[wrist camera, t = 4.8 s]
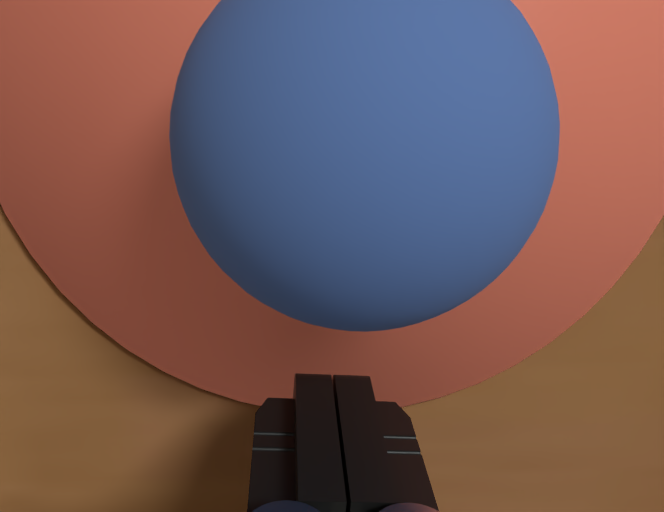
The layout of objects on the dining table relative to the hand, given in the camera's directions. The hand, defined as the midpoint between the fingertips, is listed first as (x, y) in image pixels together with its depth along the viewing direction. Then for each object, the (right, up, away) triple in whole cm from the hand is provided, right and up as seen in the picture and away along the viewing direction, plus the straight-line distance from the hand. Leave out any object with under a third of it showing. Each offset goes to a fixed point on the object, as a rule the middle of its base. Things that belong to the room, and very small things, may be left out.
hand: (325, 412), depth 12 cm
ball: (+1, +5, -3) cm, 6 cm away
